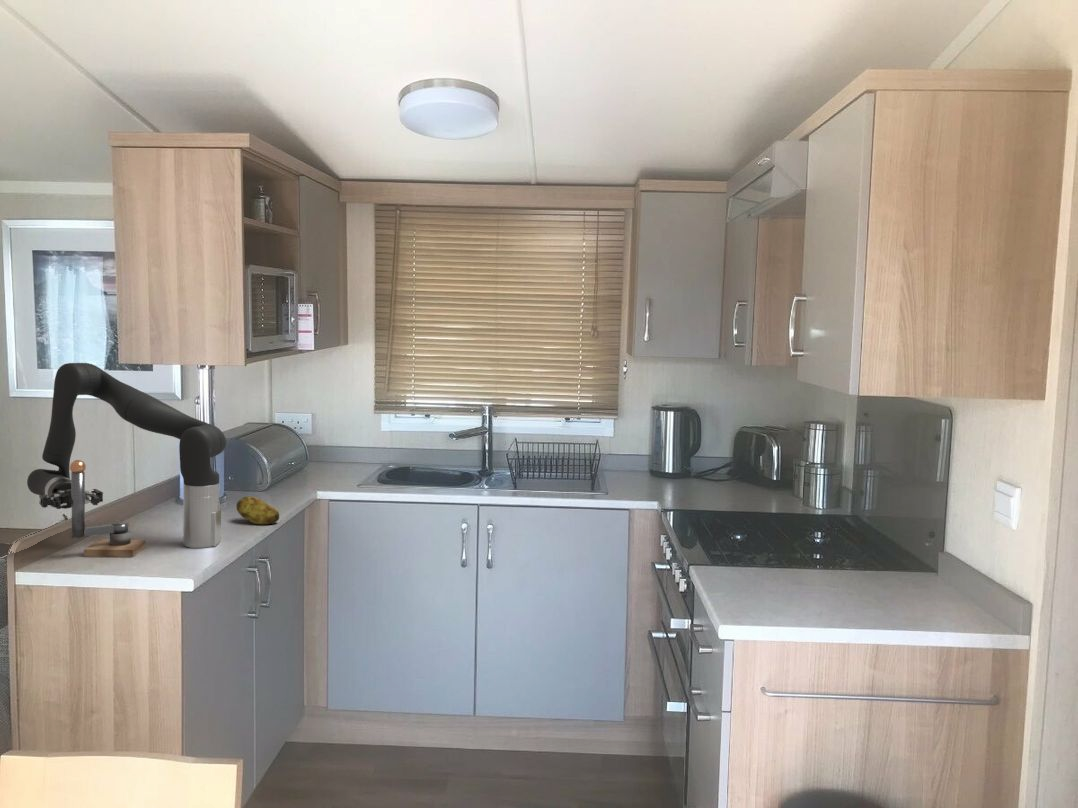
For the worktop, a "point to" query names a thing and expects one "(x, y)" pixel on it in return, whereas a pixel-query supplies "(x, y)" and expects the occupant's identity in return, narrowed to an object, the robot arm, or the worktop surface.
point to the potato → (257, 511)
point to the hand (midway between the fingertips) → (78, 503)
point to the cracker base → (115, 546)
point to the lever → (79, 507)
